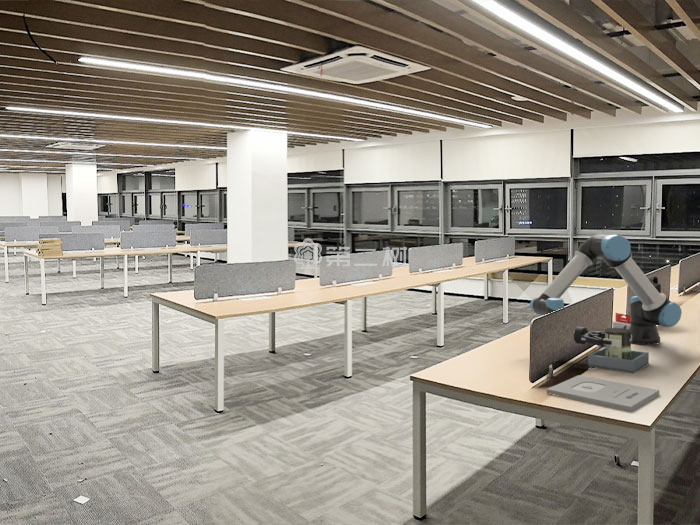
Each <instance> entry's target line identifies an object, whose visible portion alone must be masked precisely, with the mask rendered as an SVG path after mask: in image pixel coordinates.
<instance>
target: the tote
mask: <svg viewBox="0 0 700 525" xmlns="http://www.w3.org/2000/svg"><path fill="white" fill-rule="evenodd" d="M649 356H650V354H649V351H648V352H647V351H639V350H632V349H631V360H627V359H619V358H612V357H605V346H603V347H601V348H600V349H598V350H595V351H593V352H590V353H588V355H587V367H590V368H595V367H597V369H603V370H607V371H608V370H611V371H616V372H622V373H629V374H635V373H637V372H639V371H640V370H641V369H643V368H644V366H645V367H646V366H648V365H649V360H650V359H649V358H650V357H649ZM647 364H648V365H647Z"/></svg>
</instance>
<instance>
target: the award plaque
mask: <svg viewBox="0 0 700 525" xmlns="http://www.w3.org/2000/svg"><path fill="white" fill-rule="evenodd" d="M547 393H551V394H555V395H554V396H556V395H559V396H558V397H560V396H562V397H561V398H565V397H566V399H570V400H574V401H580V402H584V403H588V404H589V403H590V404H593V405H597V406H603V407H607V408H612V409H617V410H622V411H625V412H630V413H631V412H633V411H635V410H636V409H638V408H639V407H641V406H643V405H645V404H646V403H648V402H650V401H651V400H653V399H654V398H656V397H657V396H659V395H660V389H656V388H651V387H644V386H639V385H634V384H629V383H623V382H617V381H613V380H606V379H602V378H596V377H590V376H585V375H580V374H578V375H575V376H574V377H572V378H569V379H567V380H564V381H562V382H560V383H558V384H557V383H556V384H555V385H553V386H550V387H548V388H546V394H547ZM551 394H550V395H551Z"/></svg>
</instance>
